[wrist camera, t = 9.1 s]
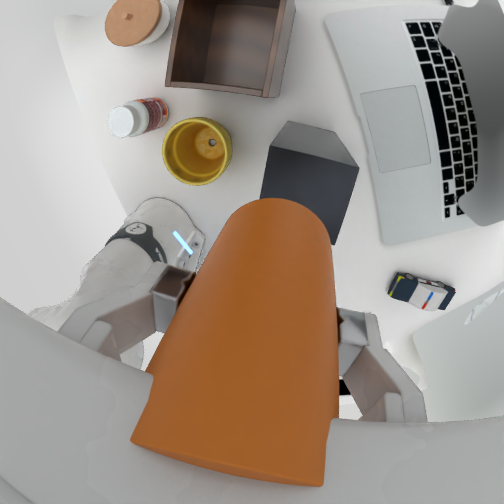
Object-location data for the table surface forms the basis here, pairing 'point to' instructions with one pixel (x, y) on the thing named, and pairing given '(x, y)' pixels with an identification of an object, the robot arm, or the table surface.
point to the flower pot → (196, 150)
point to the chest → (230, 45)
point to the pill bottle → (137, 117)
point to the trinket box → (136, 22)
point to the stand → (311, 173)
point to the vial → (252, 353)
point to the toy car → (421, 292)
